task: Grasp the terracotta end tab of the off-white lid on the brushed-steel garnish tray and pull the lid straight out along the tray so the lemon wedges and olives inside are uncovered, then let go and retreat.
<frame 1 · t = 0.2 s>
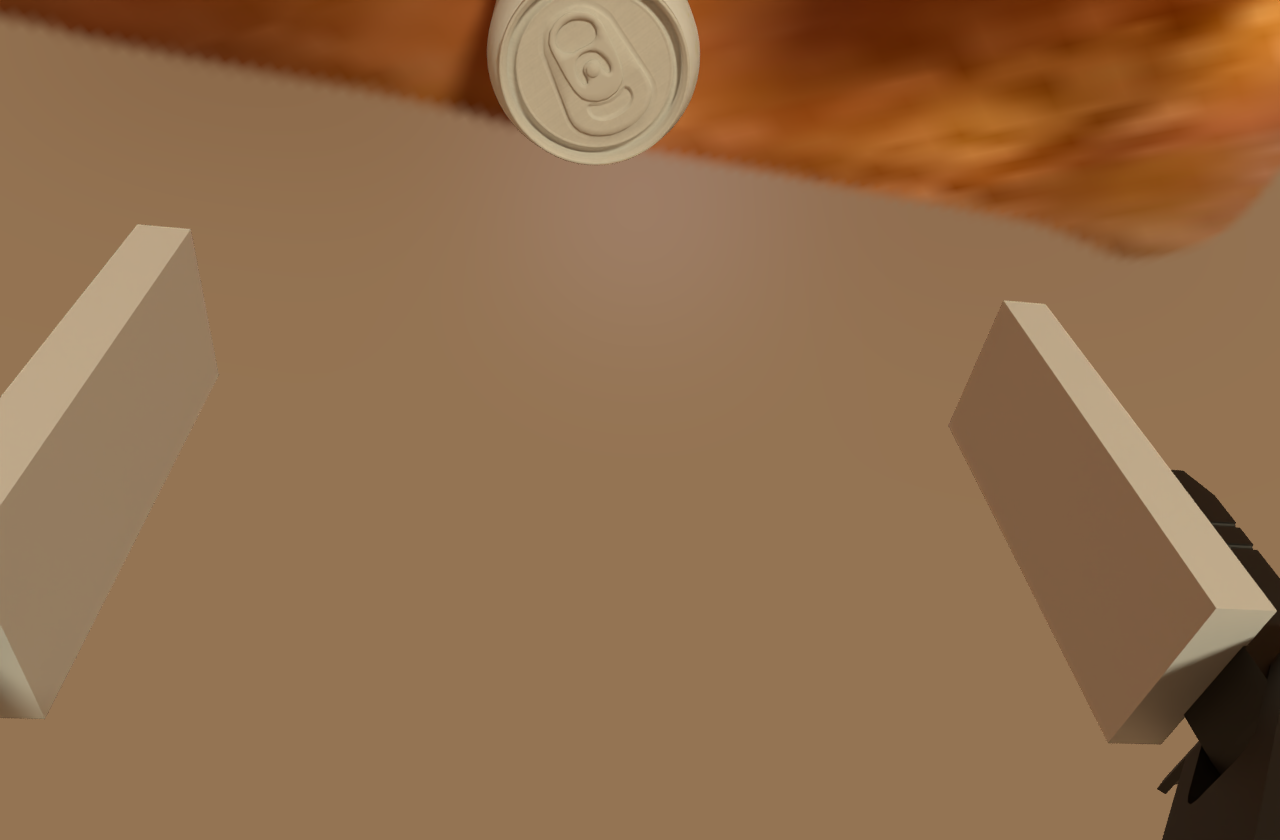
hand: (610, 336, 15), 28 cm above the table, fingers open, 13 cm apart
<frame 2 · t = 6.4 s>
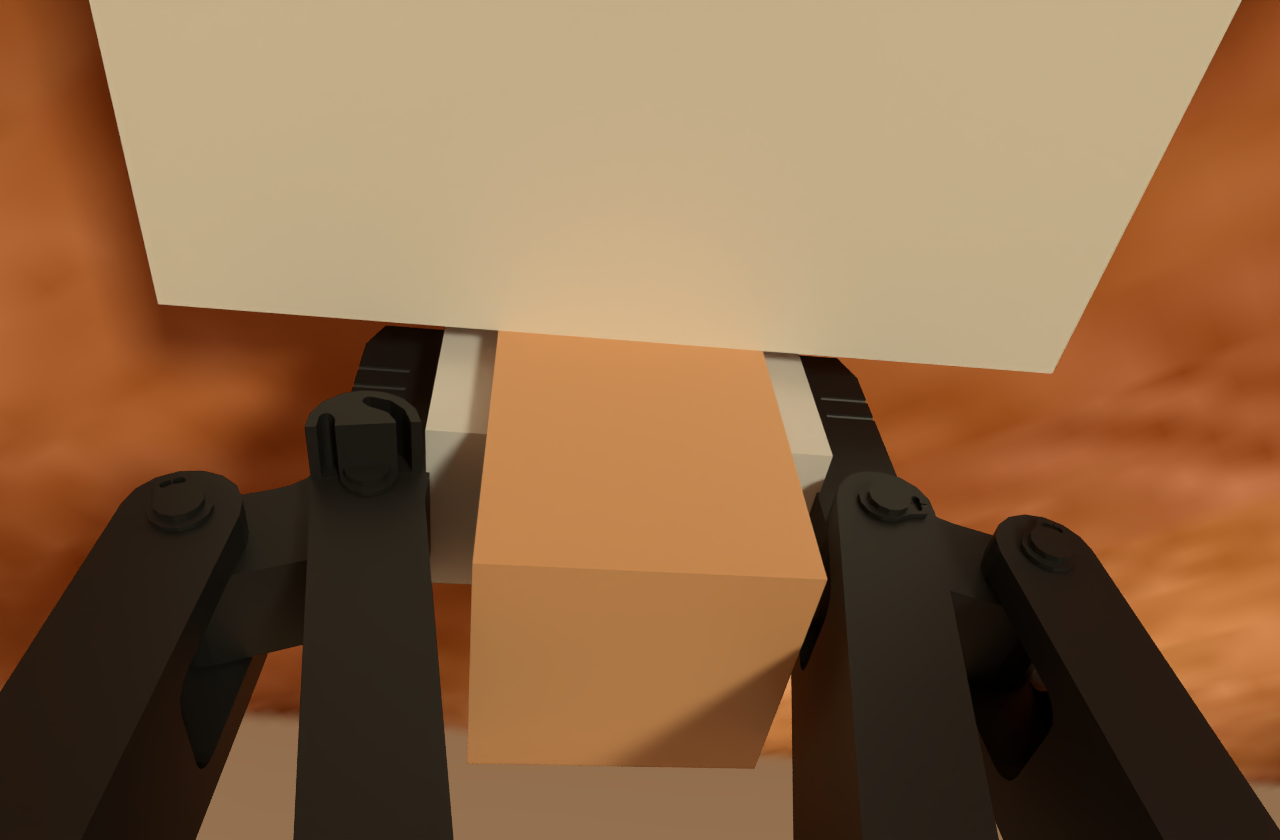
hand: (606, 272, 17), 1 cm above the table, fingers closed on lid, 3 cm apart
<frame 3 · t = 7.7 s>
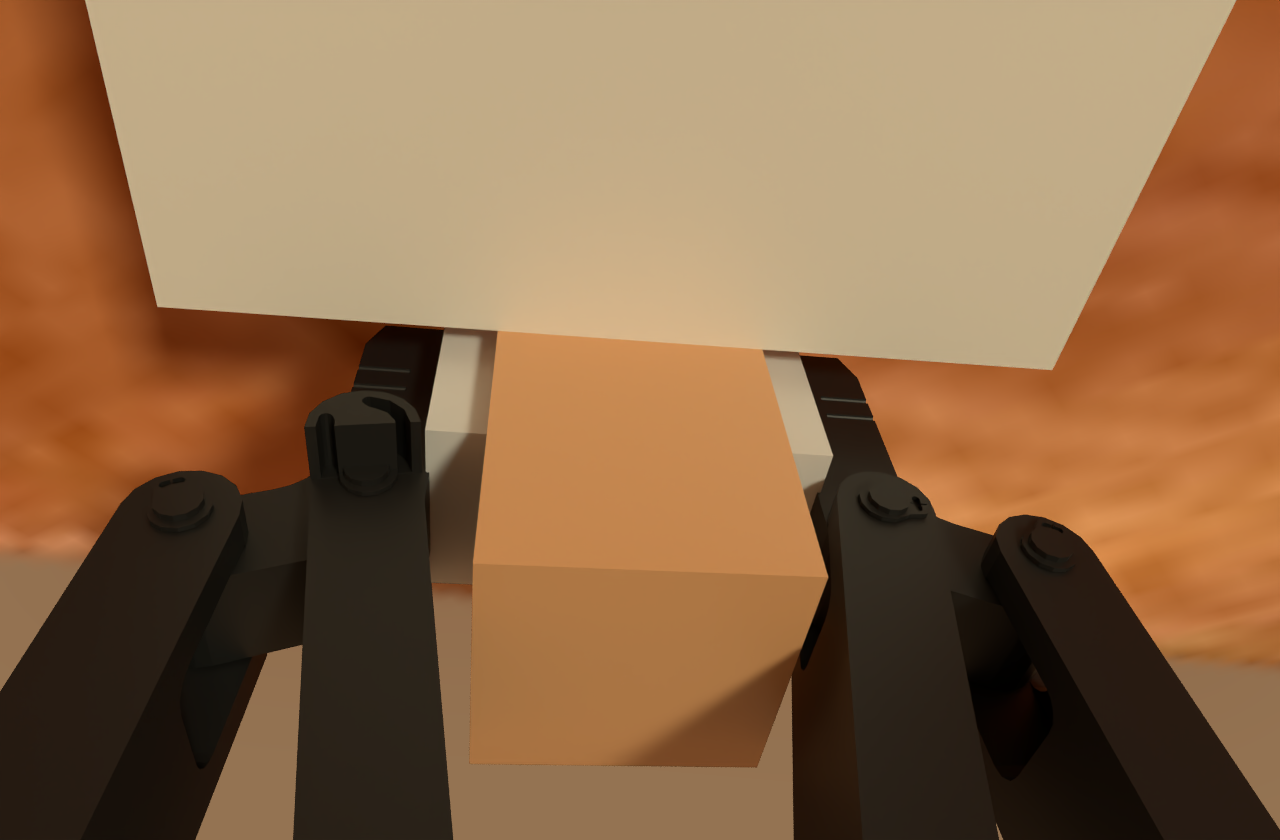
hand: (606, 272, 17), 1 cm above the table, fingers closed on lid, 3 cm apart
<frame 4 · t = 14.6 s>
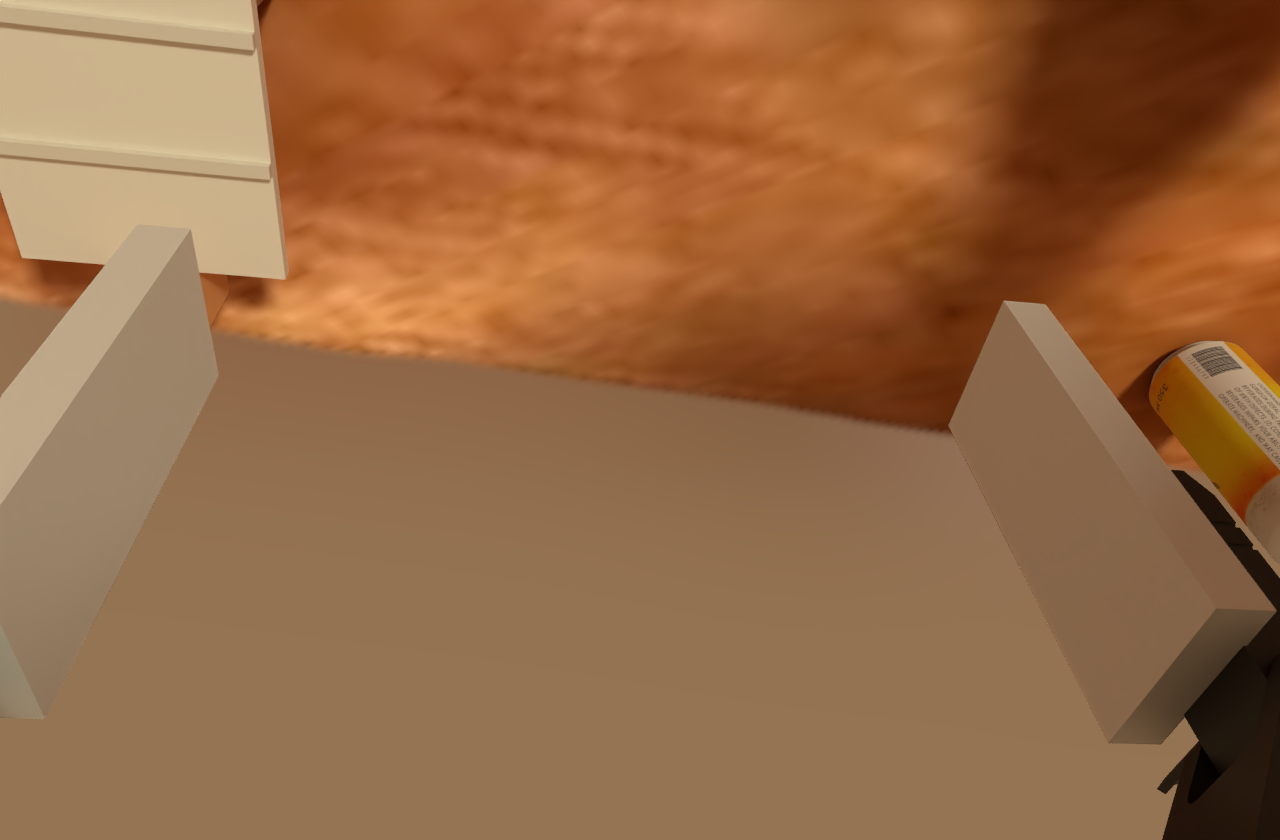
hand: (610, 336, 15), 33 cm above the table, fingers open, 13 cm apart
beer can: (1189, 371, 59), on the table
lid: (125, 132, 39), point 6 cm above the table, slide at 11.5 cm
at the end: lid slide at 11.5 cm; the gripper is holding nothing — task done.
